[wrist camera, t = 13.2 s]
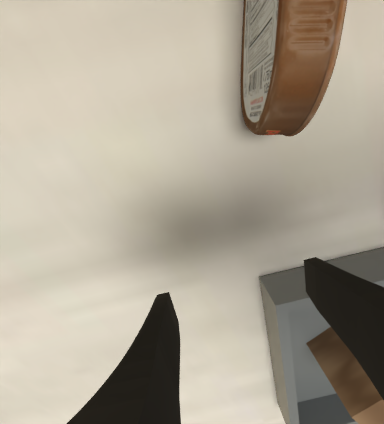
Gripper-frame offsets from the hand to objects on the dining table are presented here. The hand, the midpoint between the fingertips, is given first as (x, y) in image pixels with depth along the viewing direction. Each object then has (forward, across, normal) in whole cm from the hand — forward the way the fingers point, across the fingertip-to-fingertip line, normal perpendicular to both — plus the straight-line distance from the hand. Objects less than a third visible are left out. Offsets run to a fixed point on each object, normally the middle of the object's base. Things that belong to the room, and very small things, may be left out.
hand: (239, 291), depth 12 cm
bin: (+9, -10, +17) cm, 22 cm away
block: (+8, -10, +17) cm, 21 cm away
